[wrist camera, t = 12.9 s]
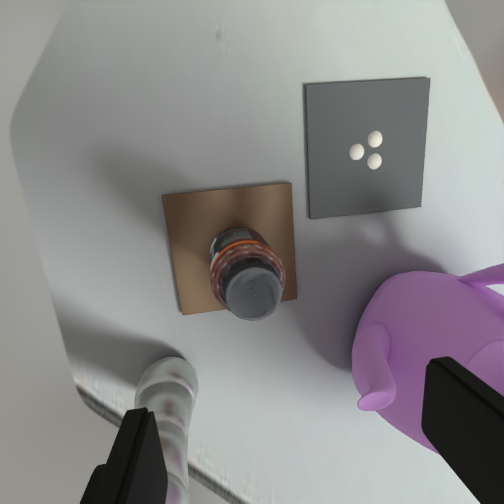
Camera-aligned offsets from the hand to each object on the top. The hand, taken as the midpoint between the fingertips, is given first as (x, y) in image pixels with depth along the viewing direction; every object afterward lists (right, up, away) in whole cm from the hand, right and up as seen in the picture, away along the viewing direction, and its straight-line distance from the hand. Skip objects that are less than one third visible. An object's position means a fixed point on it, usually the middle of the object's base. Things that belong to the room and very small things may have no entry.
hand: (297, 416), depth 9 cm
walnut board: (-3, +6, +21) cm, 22 cm away
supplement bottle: (-3, +6, +21) cm, 22 cm away
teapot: (+17, -4, +27) cm, 32 cm away
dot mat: (+11, +16, +20) cm, 28 cm away
